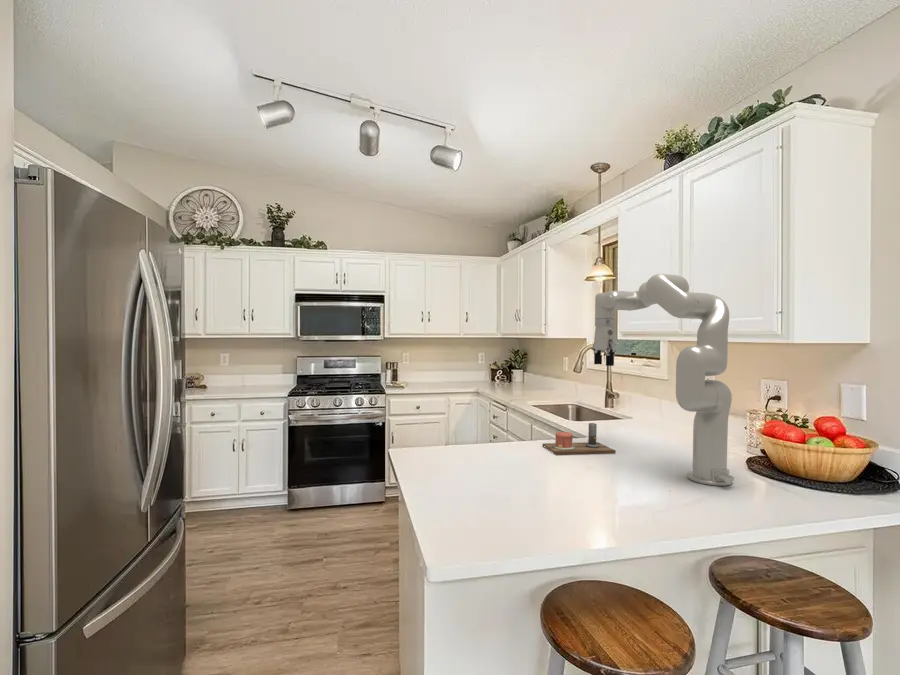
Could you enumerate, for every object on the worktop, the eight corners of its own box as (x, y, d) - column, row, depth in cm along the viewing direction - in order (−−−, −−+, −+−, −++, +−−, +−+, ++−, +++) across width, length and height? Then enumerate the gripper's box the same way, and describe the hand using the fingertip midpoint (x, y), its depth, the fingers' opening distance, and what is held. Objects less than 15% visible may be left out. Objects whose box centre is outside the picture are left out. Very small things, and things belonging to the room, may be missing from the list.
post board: (615, 453, 179) (615, 427, 179) (556, 455, 174) (556, 428, 174) (597, 445, 192) (598, 420, 192) (542, 446, 188) (543, 421, 188)
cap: (567, 449, 177) (568, 436, 177) (552, 446, 181) (552, 434, 181) (575, 445, 184) (575, 432, 184) (559, 443, 187) (559, 430, 187)
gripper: (624, 322, 183) (623, 366, 183) (602, 323, 200) (601, 363, 200) (606, 322, 181) (605, 366, 181) (586, 323, 198) (585, 363, 198)
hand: (603, 364), depth 190 cm, fingers open, 9 cm apart
